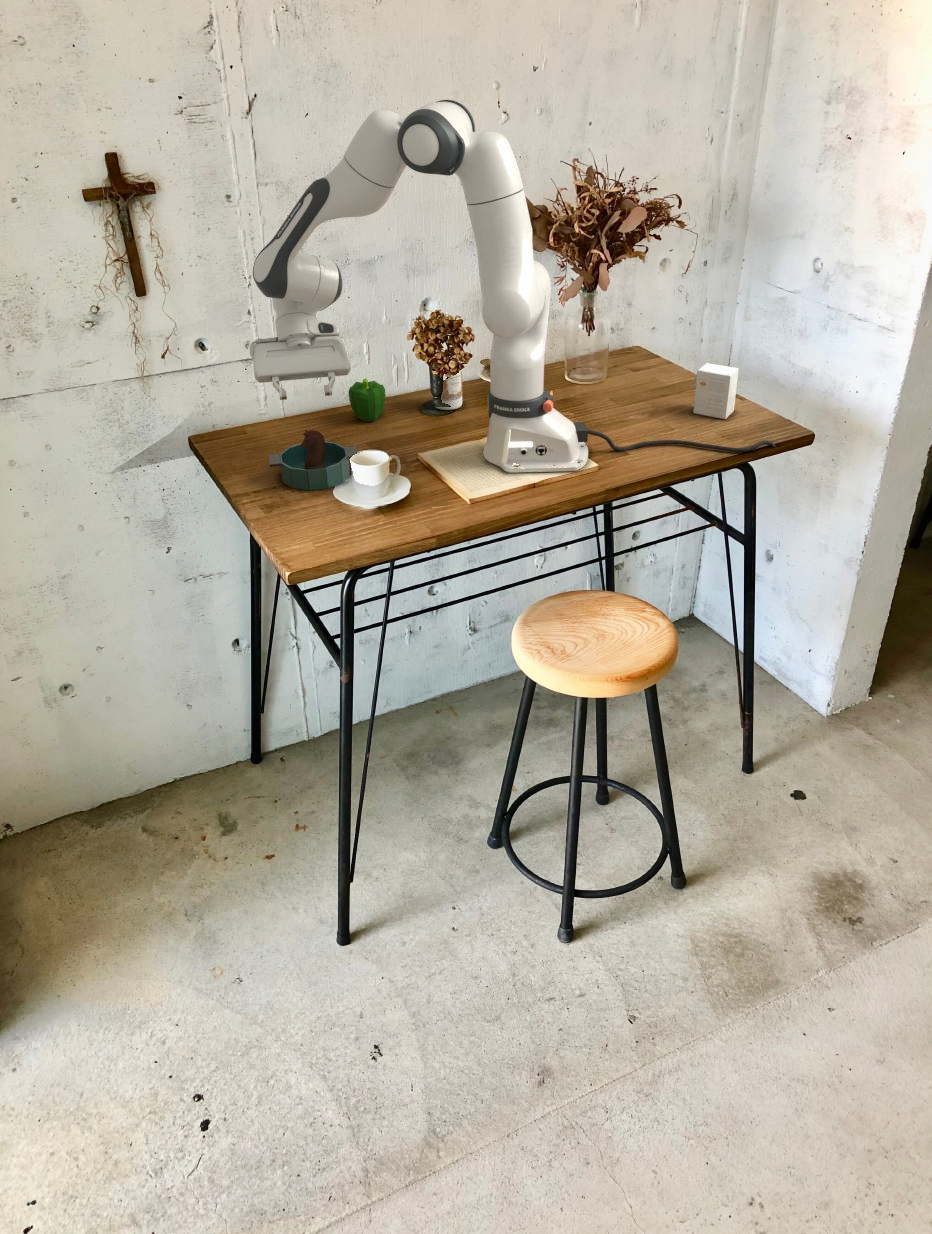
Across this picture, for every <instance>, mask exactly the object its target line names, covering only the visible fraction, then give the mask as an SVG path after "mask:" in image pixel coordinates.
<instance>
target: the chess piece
mask: <svg viewBox="0 0 932 1234" xmlns="http://www.w3.org/2000/svg"><path fill="white" fill-rule="evenodd" d="M304 431H305V432H304V433H303V434H302V435H303V436H304V438H303V441H302V442H301V443H302V444H301V447H302V449H305V448H306V447H308V446H311V447H310V449H309V451H308V453H307V456H306V460H305V464H304V466H305V467H304V469H317V468H325V467H324V466H323V459H324V450H325V442H326V440H325V437H324V435H323V434H322V432H320V431H319V430H316V429H310V430H306V429H305V430H304Z"/></svg>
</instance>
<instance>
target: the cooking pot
mask: <svg viewBox="0 0 932 1234" xmlns="http://www.w3.org/2000/svg"><path fill="white" fill-rule="evenodd" d="M301 444H302V442H300V443H296V444H294V445H291V446H289V447H286V448H285V449H284V450H283V451H282V452H281V453H274V454H273V453H272V454H268V461H269V462H268V463H269V468H274V467H275V468H276V467H280V473H281V481H282V483H283V484H285V485H287V486H288V487H290V488H292V489H297V490H302V491H320V490H328V489H330V488H333V487H335V486H339V485H341V484H344V482H345V481H346V480H347V479H348V478H349V477H350V476H351V469H350V468H351V467H350V460H351V459H350V458H351V457H352V456H353V455H355V454H357V453H358V454H359V452H358V447H357V446H356V445H355V446H346V447H345V446H344V445H341V444H339V443H338V442H332V441H325V450H324V459H323V466H324V468H317V469H304V467H305V466H304V464H305V460H306V456H307V453H308V451H309V449H310V447H311V446H308V447H306V448H305V449H302V447H301Z"/></svg>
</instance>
